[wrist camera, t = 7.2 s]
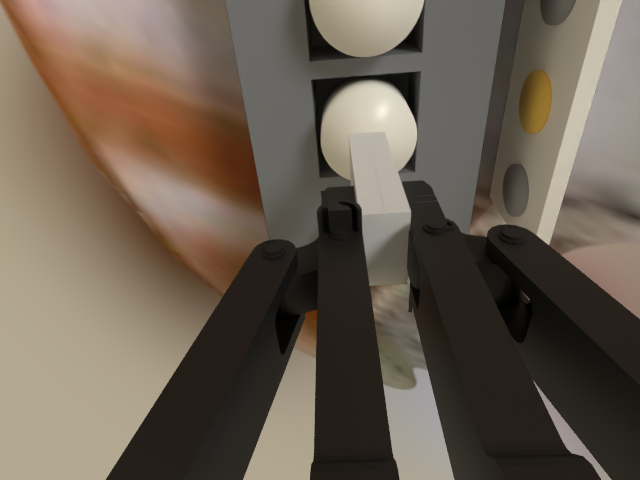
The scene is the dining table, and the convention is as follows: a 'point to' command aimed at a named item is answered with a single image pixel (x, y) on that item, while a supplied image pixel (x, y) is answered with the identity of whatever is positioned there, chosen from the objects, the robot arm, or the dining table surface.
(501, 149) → the card
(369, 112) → the button
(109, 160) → the dining table surface
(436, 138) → the board
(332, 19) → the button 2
